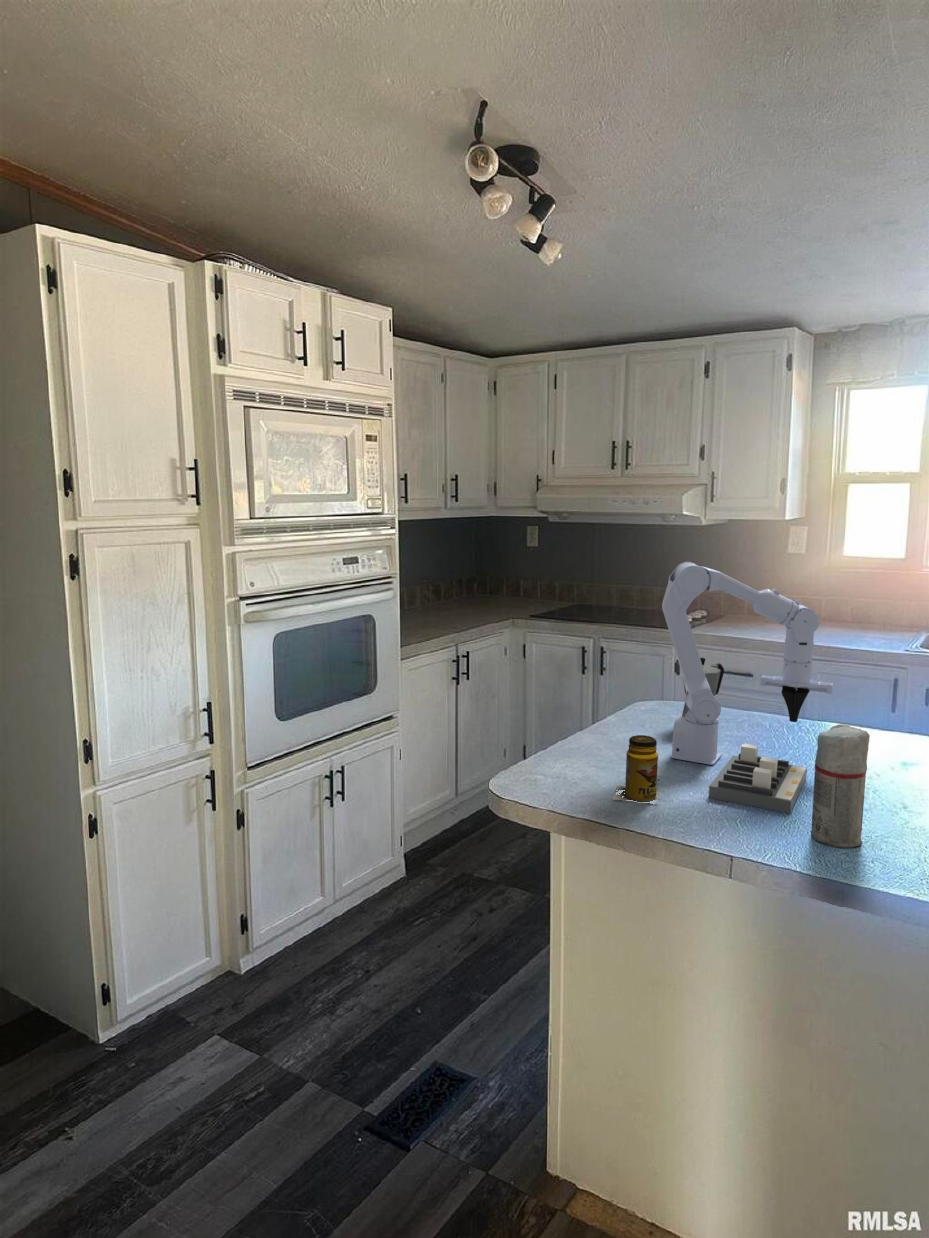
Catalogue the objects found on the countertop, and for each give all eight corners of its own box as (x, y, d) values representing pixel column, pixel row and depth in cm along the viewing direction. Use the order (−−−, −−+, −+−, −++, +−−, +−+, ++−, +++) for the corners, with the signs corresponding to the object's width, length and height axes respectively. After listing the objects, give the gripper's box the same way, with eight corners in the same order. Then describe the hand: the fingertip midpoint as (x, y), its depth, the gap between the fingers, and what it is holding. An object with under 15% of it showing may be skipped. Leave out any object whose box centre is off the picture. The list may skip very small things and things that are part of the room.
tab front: (752, 788, 152) (753, 770, 151) (754, 784, 154) (755, 767, 153) (768, 791, 150) (769, 773, 149) (770, 787, 152) (771, 769, 151)
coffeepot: (697, 735, 193) (700, 664, 190) (666, 726, 200) (670, 657, 197) (735, 725, 202) (739, 656, 199) (705, 716, 209) (708, 650, 206)
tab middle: (758, 777, 158) (759, 760, 157) (761, 773, 160) (762, 756, 159) (774, 780, 156) (775, 762, 155) (776, 776, 158) (777, 759, 157)
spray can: (859, 854, 130) (869, 738, 127) (806, 842, 134) (814, 730, 131) (864, 835, 137) (874, 725, 134) (813, 825, 141) (822, 718, 138)
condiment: (656, 805, 150) (659, 745, 148) (612, 800, 153) (614, 741, 151) (659, 792, 157) (661, 734, 155) (616, 787, 159) (618, 730, 157)
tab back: (740, 762, 166) (741, 746, 165) (742, 759, 168) (743, 743, 167) (754, 765, 164) (755, 748, 164) (757, 761, 167) (758, 745, 166)
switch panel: (708, 797, 154) (709, 781, 153) (732, 765, 172) (733, 750, 171) (790, 813, 146) (791, 796, 146) (806, 778, 164) (807, 763, 164)
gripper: (759, 660, 171) (755, 720, 173) (832, 667, 164) (827, 730, 166) (765, 654, 177) (761, 712, 179) (835, 661, 170) (831, 722, 172)
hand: (793, 720), depth 173 cm, fingers closed
